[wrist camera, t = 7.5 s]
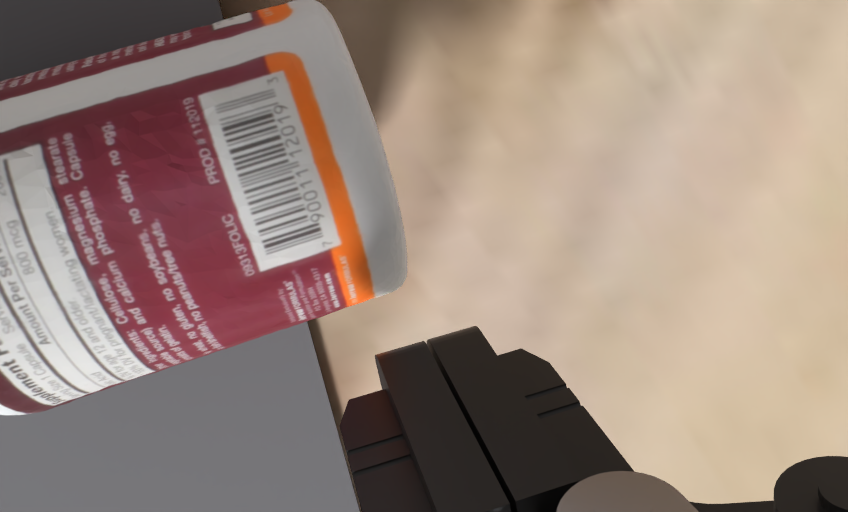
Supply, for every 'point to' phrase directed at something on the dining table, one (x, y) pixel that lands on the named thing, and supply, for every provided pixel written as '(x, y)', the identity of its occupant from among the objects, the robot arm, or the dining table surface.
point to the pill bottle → (186, 202)
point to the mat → (178, 385)
